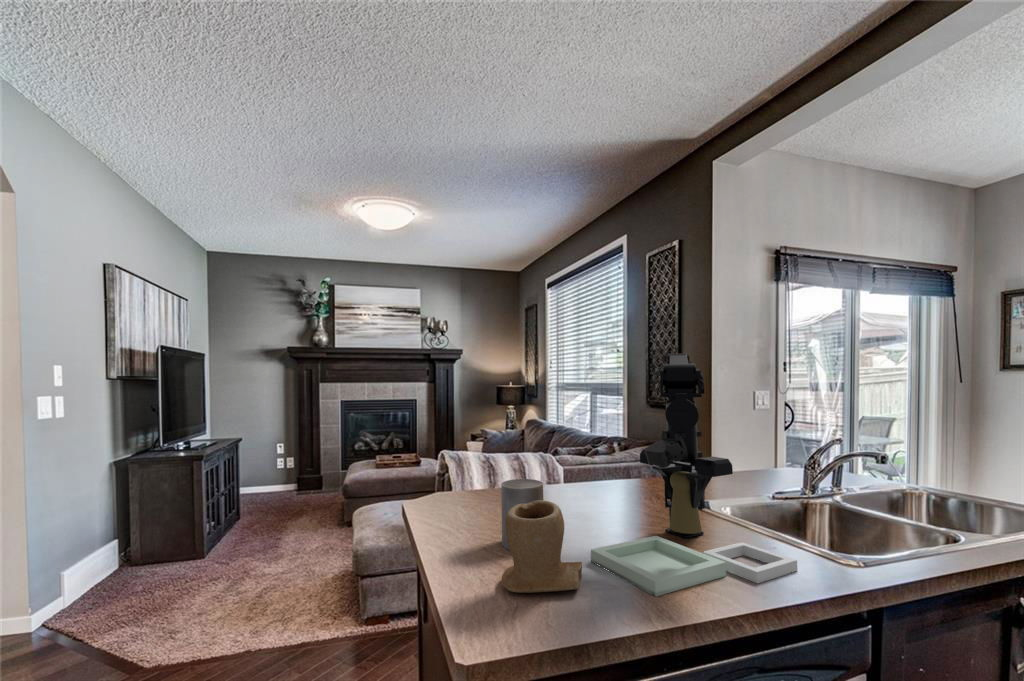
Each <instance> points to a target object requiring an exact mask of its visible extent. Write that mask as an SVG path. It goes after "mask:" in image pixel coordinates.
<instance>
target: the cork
mask: <svg viewBox="0 0 1024 681" xmlns="http://www.w3.org/2000/svg"><path fill="white" fill-rule="evenodd" d="M686 473H690V472H683V471H681V472H674V473H672V475H671V477H670V484H671V486H672V488H673V496H672V507H671V517H669V528H670V529H671V530H673V531H675V532H679V533H686V534H694V533H700V532H701V531H702V525H701V524H702V523H701V519H700V513H699V511H700V510H698V506H697V508H692V505H691V499H690V482H689V480H688V478H687V477H686V475H685V474H686ZM702 532H703V531H702Z"/></svg>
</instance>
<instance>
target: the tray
mask: <svg viewBox="0 0 1024 681" xmlns="http://www.w3.org/2000/svg"><path fill="white" fill-rule="evenodd" d="M591 561H592V562H594V563H596V564H598V565H600V566H601V567H603V568H605V569H607V570H609V571H610V572H609V571H608V572H609V573H611V572H612V573H614V574H615V575H614V574H613V575H614V576H616V575H617V576H616V577H618V576H619V577H618V578H619V579H622V580H624V581H626V582H627V583H629V584H631V585H633V586H635V587H637V588H639V589H641V590H643V591H644V592H646V593H648V594H650V595H652V596H654V597H659V596H663V595H666V594H669V593H672V592H676V591H680V590H683V589H687V588H690V587H695V586H698V585H701V584H703V583H707V582H710V581H713V580H717V579H721V578H723V577H727V571H726V562H724V561H721V560H719V559H716V558H713V557H711V556H708V555H706V554H703V552H700V551H699V550H698V551H697V550H695V549H693V548H690V547H687V546H684V545H682V544H679V543H676V542H674V541H671V540H668V539H666V538H663V537H661V536H658V535H653V536H649V537H648V536H647V537H643V538H639V539H633V540H628V541H625V542H619V543H615V544H614V543H613V544H610V545H606V546H600V547H596V548H591V549H590V562H591ZM592 562H591V563H592ZM594 563H593V564H594ZM596 564H595V565H596ZM601 567H600V568H601ZM603 568H602V569H603ZM605 569H604V570H605ZM607 570H606V571H607ZM612 573H611V574H612Z"/></svg>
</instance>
